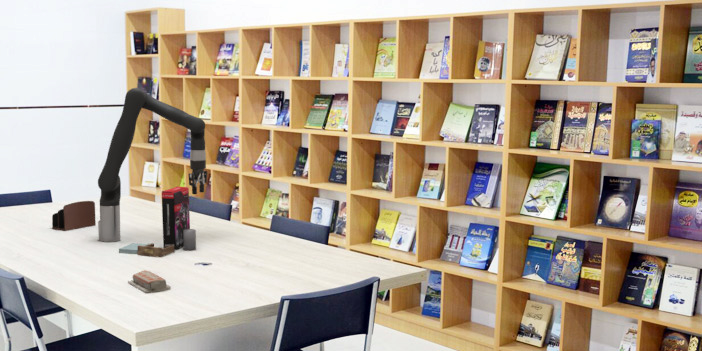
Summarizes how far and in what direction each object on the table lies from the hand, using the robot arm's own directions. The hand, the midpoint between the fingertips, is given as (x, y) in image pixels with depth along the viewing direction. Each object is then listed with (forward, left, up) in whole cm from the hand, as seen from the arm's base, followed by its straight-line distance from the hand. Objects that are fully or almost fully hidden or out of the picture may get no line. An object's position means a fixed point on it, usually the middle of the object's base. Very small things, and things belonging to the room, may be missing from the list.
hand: (198, 193), depth 373 cm
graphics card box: (0, -20, -23) cm, 30 cm away
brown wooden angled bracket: (0, -36, -23) cm, 42 cm away
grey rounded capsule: (+9, -23, -23) cm, 33 cm away
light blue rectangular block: (-12, -35, -23) cm, 44 cm away
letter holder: (-74, -1, -23) cm, 77 cm away
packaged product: (+29, -84, -23) cm, 92 cm away
